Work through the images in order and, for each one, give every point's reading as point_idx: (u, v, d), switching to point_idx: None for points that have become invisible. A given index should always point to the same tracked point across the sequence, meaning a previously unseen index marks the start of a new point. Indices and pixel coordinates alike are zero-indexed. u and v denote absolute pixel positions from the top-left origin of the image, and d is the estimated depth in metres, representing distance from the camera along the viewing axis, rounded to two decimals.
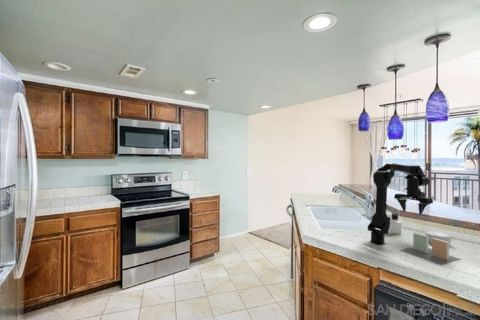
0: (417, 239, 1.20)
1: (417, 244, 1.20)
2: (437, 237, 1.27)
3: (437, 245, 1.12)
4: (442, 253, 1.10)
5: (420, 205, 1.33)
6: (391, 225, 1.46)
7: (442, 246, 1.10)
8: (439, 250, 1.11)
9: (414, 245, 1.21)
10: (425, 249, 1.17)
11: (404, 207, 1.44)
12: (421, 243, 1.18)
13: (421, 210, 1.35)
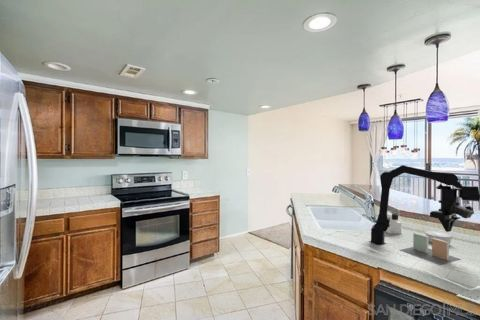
0: (417, 239, 1.20)
1: (417, 244, 1.20)
2: (437, 237, 1.27)
3: (437, 245, 1.12)
4: (442, 253, 1.10)
5: None
6: (391, 225, 1.46)
7: (442, 246, 1.10)
8: (439, 250, 1.11)
9: (414, 245, 1.21)
10: (425, 249, 1.17)
11: None
12: (421, 243, 1.18)
13: (444, 225, 1.14)
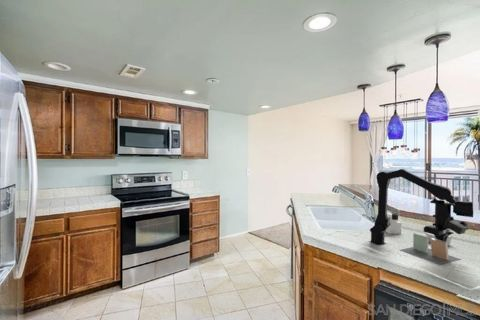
0: (417, 239, 1.20)
1: (417, 244, 1.20)
2: None
3: (436, 245, 1.12)
4: (441, 253, 1.10)
5: None
6: (391, 225, 1.46)
7: (441, 246, 1.10)
8: (438, 250, 1.11)
9: (414, 245, 1.21)
10: (425, 249, 1.17)
11: None
12: (421, 243, 1.18)
13: None
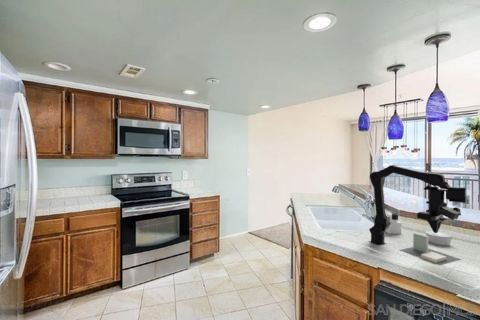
0: (417, 239, 1.20)
1: (417, 244, 1.20)
2: (437, 237, 1.27)
3: None
4: None
5: None
6: (391, 225, 1.46)
7: None
8: None
9: (414, 245, 1.21)
10: (425, 249, 1.17)
11: None
12: (421, 243, 1.18)
13: (432, 226, 1.13)
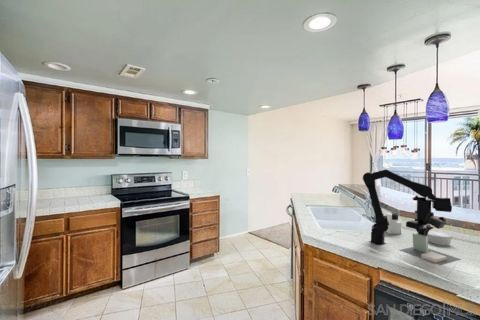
0: (416, 239, 1.20)
1: (417, 244, 1.20)
2: (437, 237, 1.27)
3: None
4: None
5: None
6: (391, 225, 1.46)
7: None
8: None
9: (414, 245, 1.21)
10: (425, 249, 1.17)
11: None
12: (420, 244, 1.18)
13: None
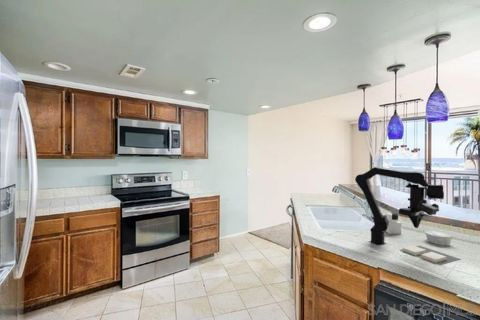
0: None
1: None
2: (437, 237, 1.27)
3: None
4: None
5: None
6: (391, 225, 1.46)
7: None
8: None
9: None
10: None
11: None
12: None
13: (413, 222, 1.20)
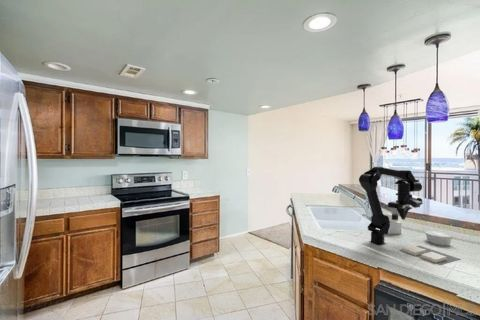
0: None
1: None
2: (437, 237, 1.27)
3: None
4: None
5: None
6: (391, 225, 1.46)
7: None
8: None
9: None
10: None
11: None
12: None
13: (400, 214, 1.35)
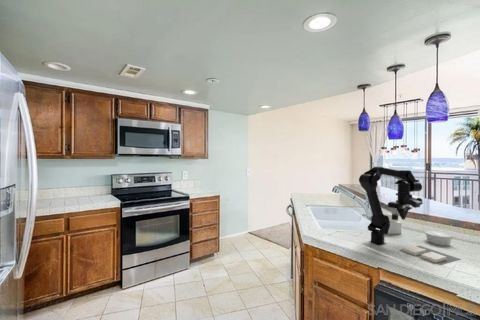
0: None
1: None
2: (437, 237, 1.27)
3: None
4: None
5: None
6: (391, 225, 1.46)
7: None
8: None
9: None
10: None
11: None
12: None
13: (400, 214, 1.35)
